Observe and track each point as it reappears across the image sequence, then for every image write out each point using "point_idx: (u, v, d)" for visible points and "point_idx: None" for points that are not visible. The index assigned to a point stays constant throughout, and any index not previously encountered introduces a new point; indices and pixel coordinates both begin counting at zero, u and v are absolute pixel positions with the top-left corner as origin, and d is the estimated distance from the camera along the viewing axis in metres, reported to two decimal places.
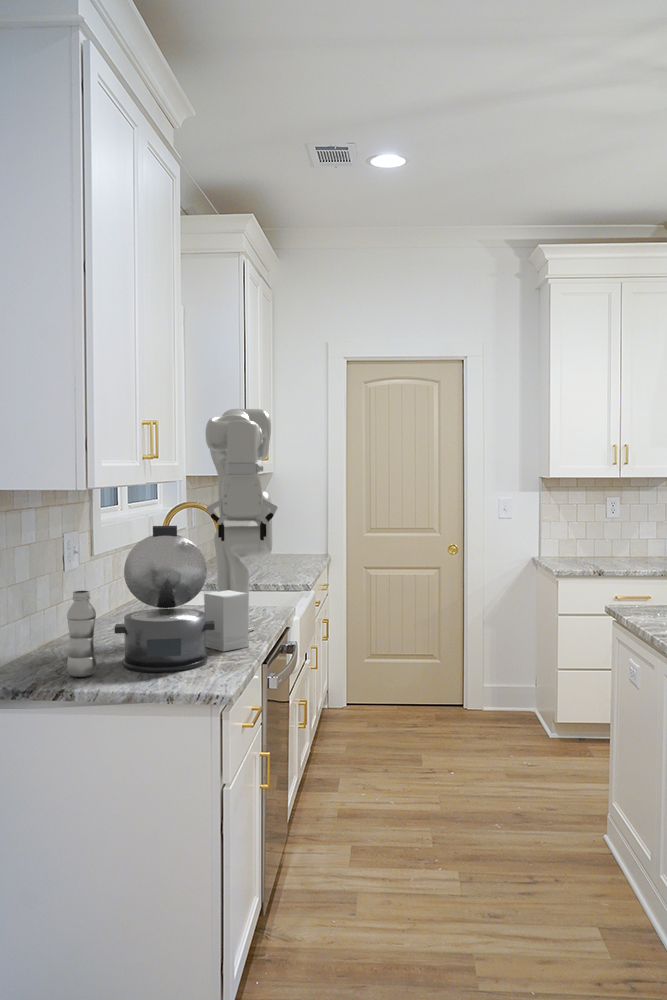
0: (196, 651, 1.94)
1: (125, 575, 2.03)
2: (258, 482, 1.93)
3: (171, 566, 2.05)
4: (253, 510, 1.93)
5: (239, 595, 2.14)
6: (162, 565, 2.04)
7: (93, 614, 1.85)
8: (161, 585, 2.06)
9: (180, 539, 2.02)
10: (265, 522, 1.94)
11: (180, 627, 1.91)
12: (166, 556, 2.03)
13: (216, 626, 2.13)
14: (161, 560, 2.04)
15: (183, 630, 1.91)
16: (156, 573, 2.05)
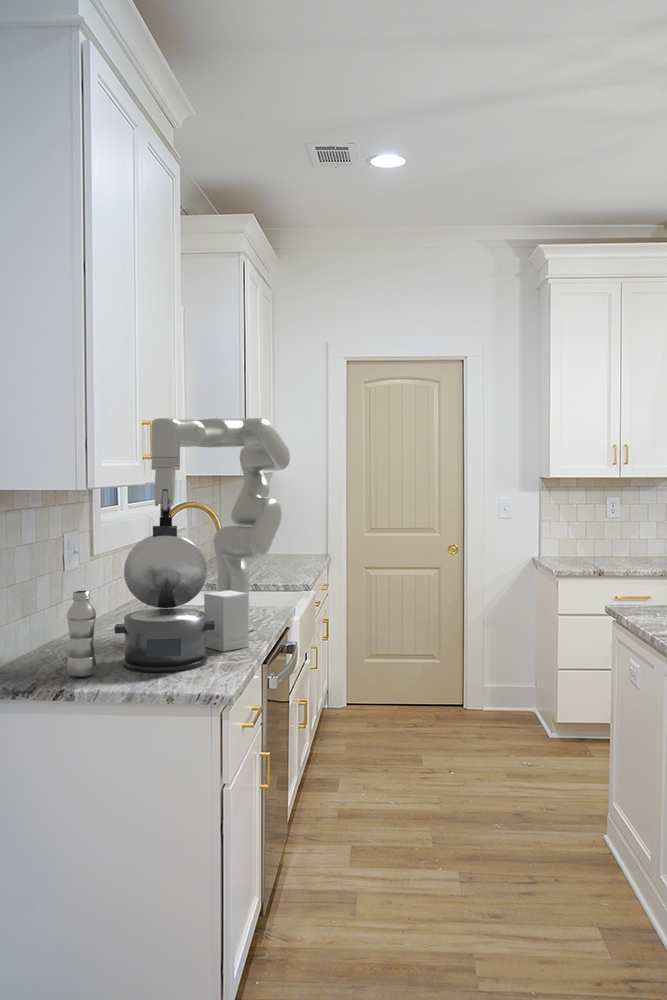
0: (196, 651, 1.94)
1: (125, 575, 2.03)
2: None
3: (171, 566, 2.05)
4: None
5: (239, 595, 2.14)
6: (162, 565, 2.04)
7: (93, 614, 1.85)
8: (161, 585, 2.06)
9: (180, 539, 2.02)
10: None
11: (180, 627, 1.91)
12: (166, 556, 2.03)
13: (216, 626, 2.13)
14: (161, 560, 2.04)
15: (183, 630, 1.91)
16: (156, 573, 2.05)
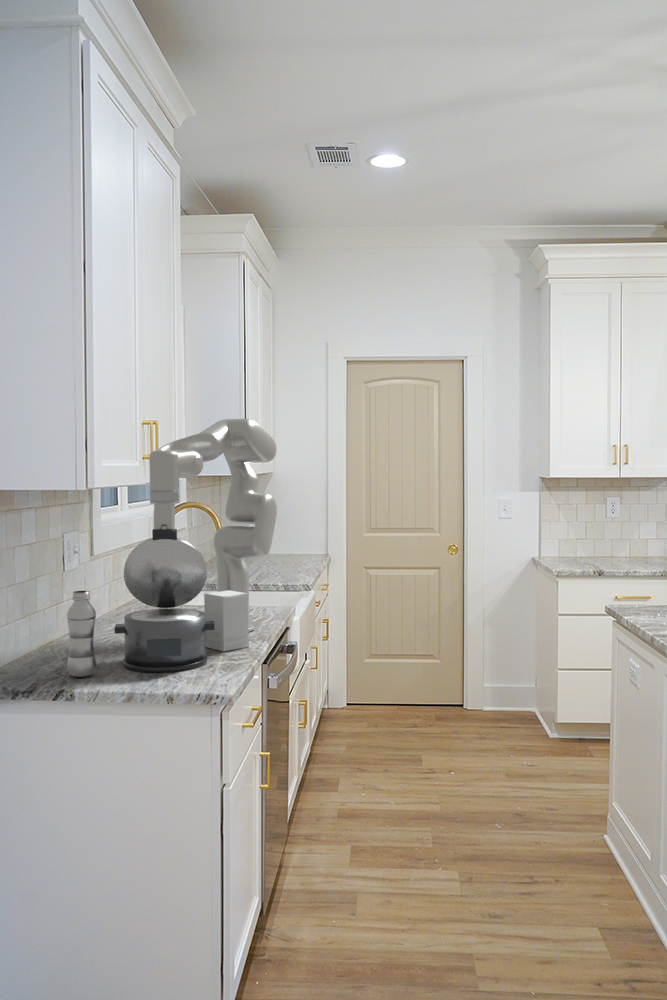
0: (196, 651, 1.94)
1: (125, 577, 2.03)
2: None
3: (171, 568, 2.04)
4: None
5: (239, 595, 2.14)
6: (162, 567, 2.03)
7: (93, 614, 1.85)
8: (161, 586, 2.06)
9: (180, 542, 2.01)
10: None
11: (180, 627, 1.91)
12: (166, 559, 2.02)
13: (216, 626, 2.13)
14: (161, 562, 2.02)
15: (183, 630, 1.91)
16: (156, 575, 2.04)
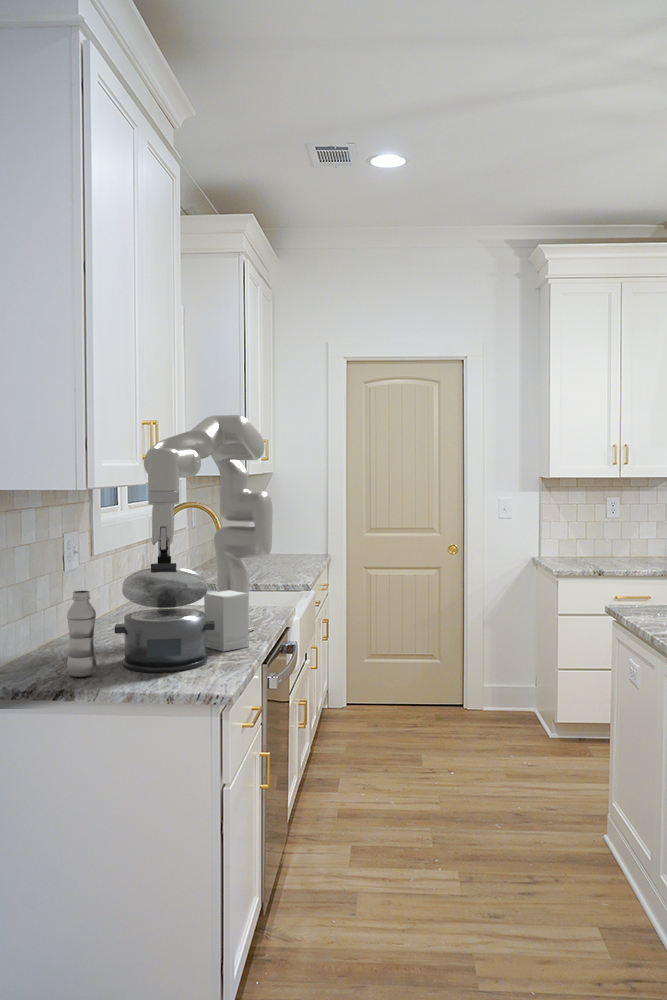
0: (196, 651, 1.94)
1: (124, 593, 1.99)
2: None
3: (171, 587, 1.99)
4: None
5: (239, 595, 2.14)
6: (161, 587, 1.98)
7: (93, 614, 1.85)
8: (161, 597, 2.03)
9: (180, 574, 1.93)
10: None
11: (180, 627, 1.91)
12: (165, 583, 1.96)
13: (216, 626, 2.13)
14: (160, 584, 1.97)
15: (183, 630, 1.91)
16: (155, 591, 2.00)
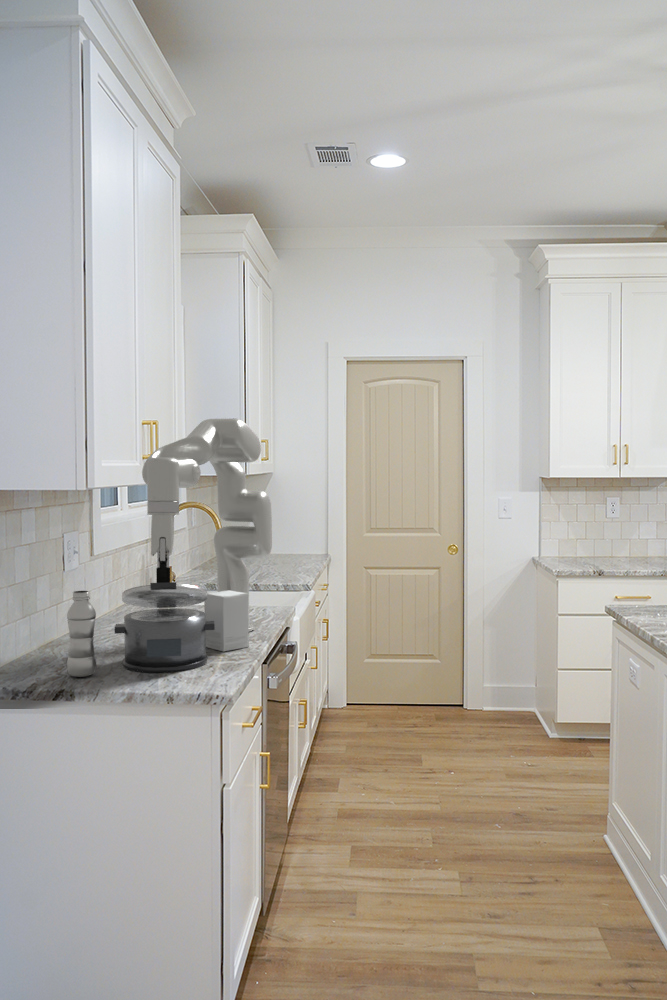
0: (196, 651, 1.94)
1: (123, 601, 1.98)
2: None
3: (171, 597, 1.98)
4: None
5: (239, 595, 2.14)
6: (161, 597, 1.97)
7: (93, 614, 1.85)
8: (161, 602, 2.02)
9: (180, 590, 1.91)
10: None
11: (180, 627, 1.91)
12: (165, 595, 1.95)
13: (216, 626, 2.13)
14: (160, 596, 1.95)
15: (183, 630, 1.91)
16: (155, 599, 1.99)
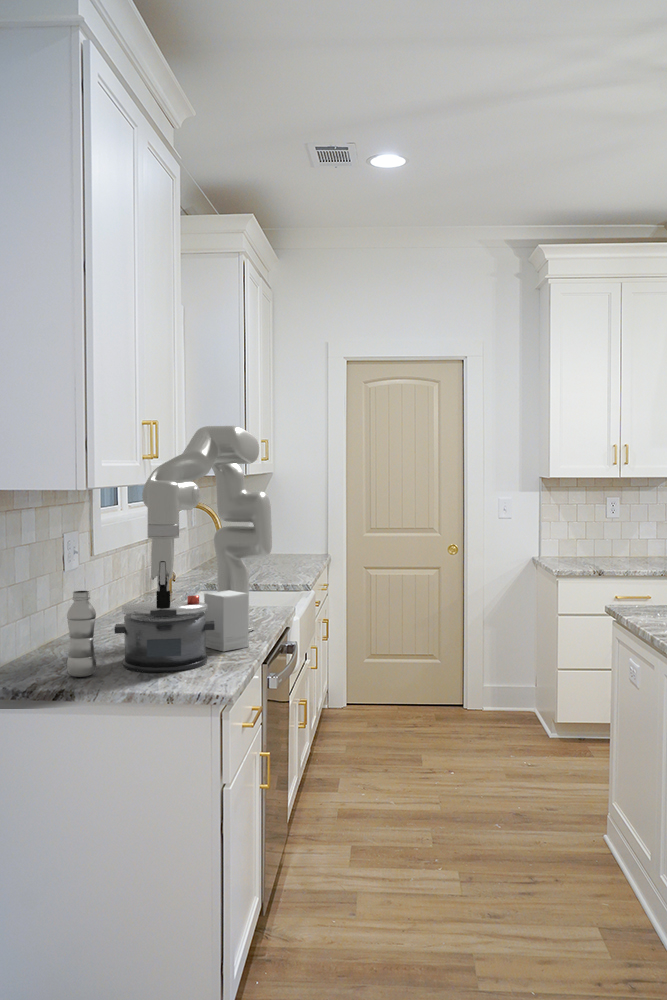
0: (196, 651, 1.94)
1: None
2: None
3: None
4: None
5: (239, 595, 2.14)
6: None
7: (93, 614, 1.85)
8: None
9: None
10: None
11: (180, 627, 1.91)
12: None
13: (216, 626, 2.13)
14: None
15: (183, 630, 1.91)
16: None
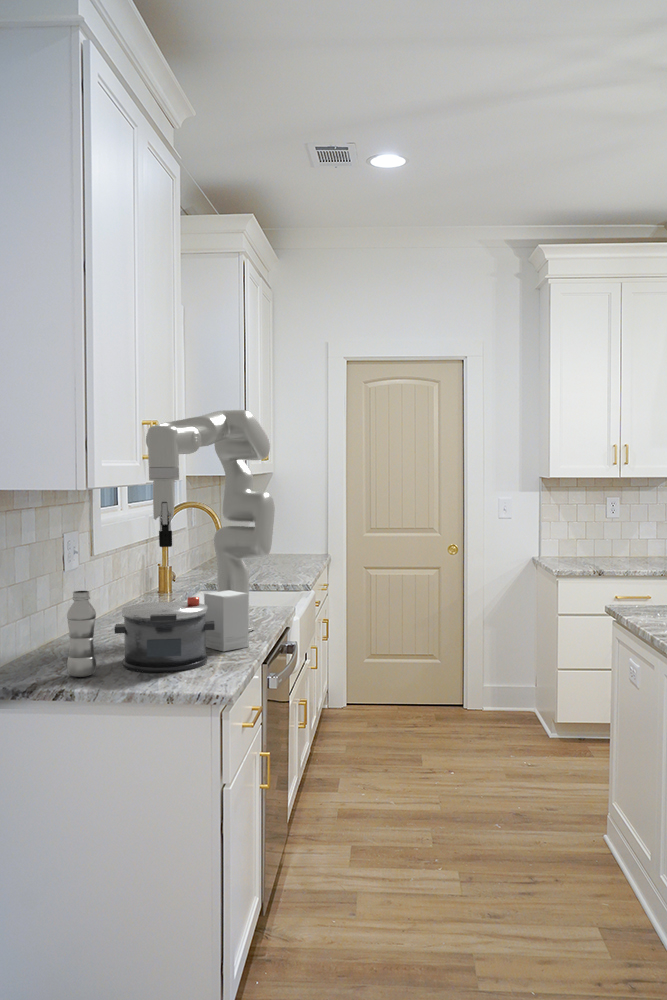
0: (196, 651, 1.94)
1: None
2: None
3: None
4: None
5: (239, 595, 2.14)
6: None
7: (93, 614, 1.85)
8: None
9: (180, 618, 1.90)
10: None
11: (180, 627, 1.91)
12: None
13: (216, 626, 2.13)
14: None
15: (183, 630, 1.91)
16: None
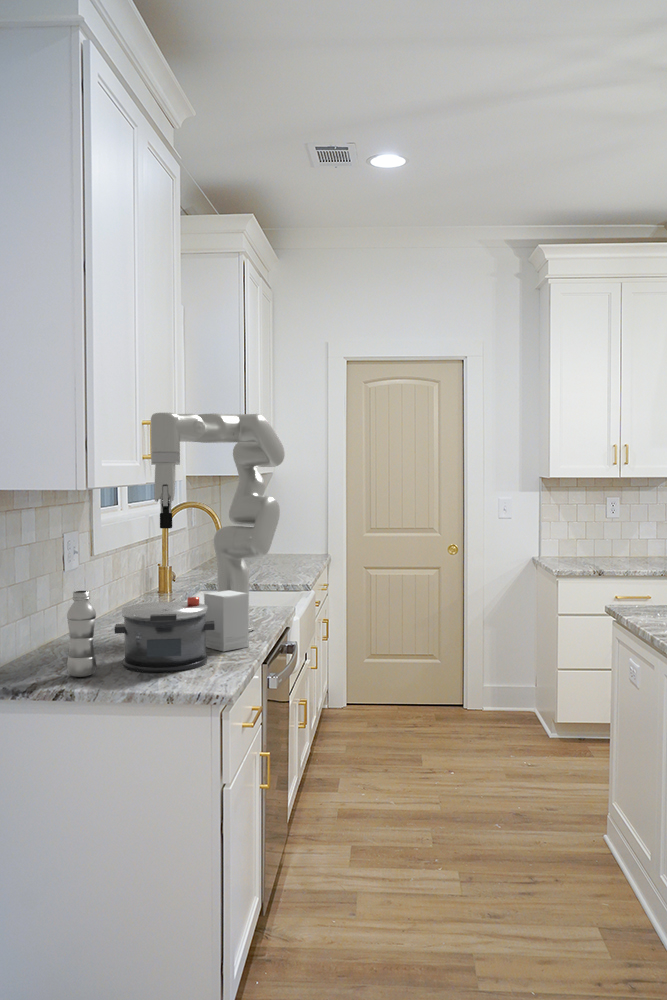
0: (196, 651, 1.94)
1: None
2: None
3: None
4: None
5: (239, 595, 2.14)
6: None
7: (93, 614, 1.85)
8: None
9: (180, 618, 1.90)
10: None
11: (180, 627, 1.91)
12: None
13: (216, 626, 2.13)
14: None
15: (183, 630, 1.91)
16: None
